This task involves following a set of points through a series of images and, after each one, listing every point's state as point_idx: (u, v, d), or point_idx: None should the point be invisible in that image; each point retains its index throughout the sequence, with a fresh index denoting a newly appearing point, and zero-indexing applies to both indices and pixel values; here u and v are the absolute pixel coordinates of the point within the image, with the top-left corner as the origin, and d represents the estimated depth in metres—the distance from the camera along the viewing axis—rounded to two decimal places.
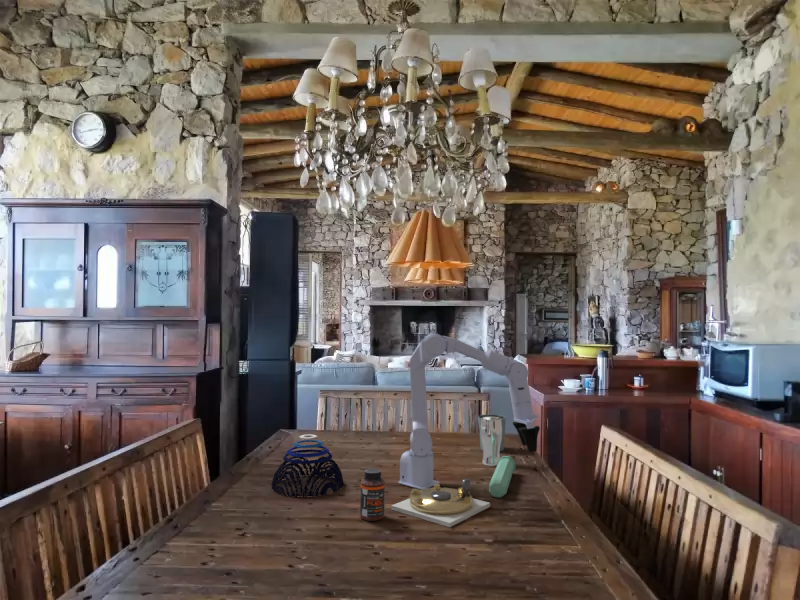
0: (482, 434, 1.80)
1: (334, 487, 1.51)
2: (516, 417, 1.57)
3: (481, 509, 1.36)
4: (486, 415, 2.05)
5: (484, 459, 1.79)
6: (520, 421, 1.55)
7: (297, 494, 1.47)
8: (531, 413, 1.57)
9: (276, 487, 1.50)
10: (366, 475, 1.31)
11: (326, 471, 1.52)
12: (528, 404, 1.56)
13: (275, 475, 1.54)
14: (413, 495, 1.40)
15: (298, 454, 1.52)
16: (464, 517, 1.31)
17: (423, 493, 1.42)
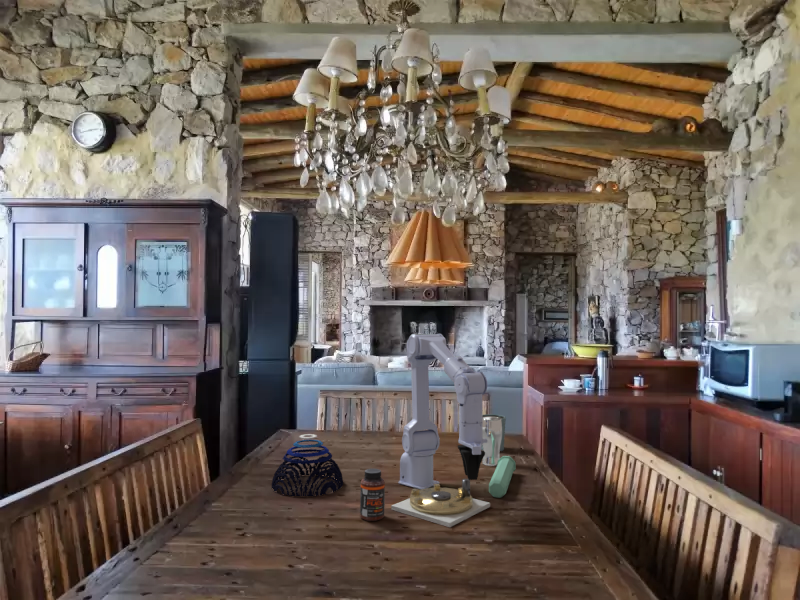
0: None
1: (334, 487, 1.52)
2: (462, 438, 1.32)
3: (481, 509, 1.36)
4: (486, 415, 2.05)
5: (484, 459, 1.79)
6: (465, 444, 1.30)
7: (297, 494, 1.47)
8: (480, 437, 1.32)
9: (276, 487, 1.51)
10: (366, 475, 1.31)
11: (326, 471, 1.52)
12: (478, 425, 1.31)
13: (275, 475, 1.55)
14: (413, 495, 1.40)
15: (298, 454, 1.52)
16: (464, 517, 1.31)
17: (423, 493, 1.42)
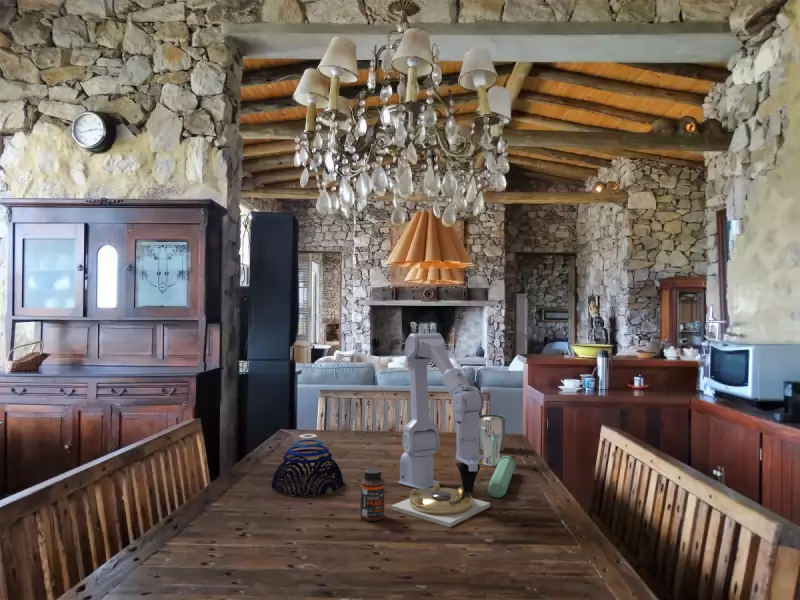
0: (482, 434, 1.80)
1: (334, 486, 1.52)
2: (459, 455, 1.36)
3: (481, 509, 1.36)
4: (486, 415, 2.05)
5: (484, 459, 1.79)
6: (462, 460, 1.34)
7: (297, 493, 1.48)
8: (477, 453, 1.36)
9: (276, 486, 1.51)
10: (366, 475, 1.31)
11: (326, 470, 1.52)
12: (475, 442, 1.35)
13: (275, 474, 1.55)
14: (413, 495, 1.40)
15: (298, 453, 1.53)
16: (464, 517, 1.31)
17: (423, 493, 1.41)
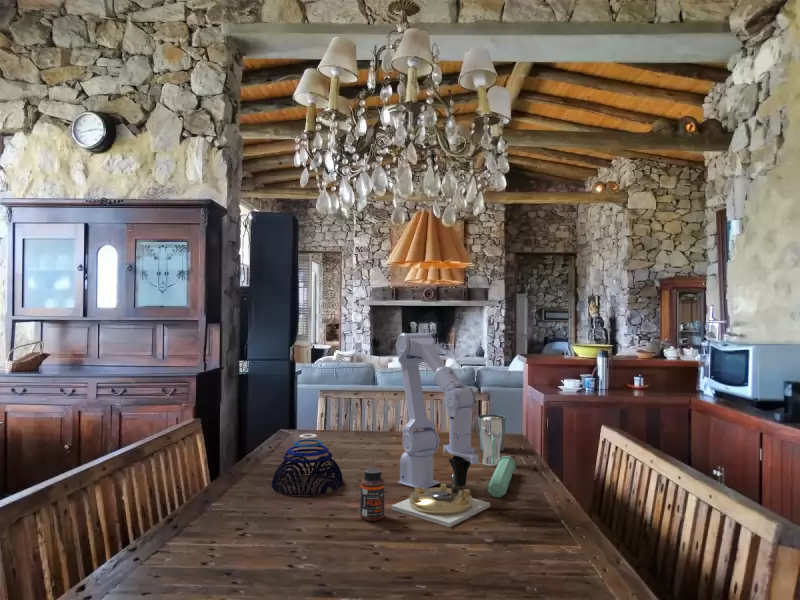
0: (482, 434, 1.80)
1: (334, 486, 1.52)
2: (455, 450, 1.41)
3: (481, 509, 1.36)
4: (486, 415, 2.05)
5: (484, 459, 1.79)
6: (461, 455, 1.39)
7: (297, 493, 1.48)
8: (470, 447, 1.42)
9: (276, 486, 1.51)
10: (366, 475, 1.31)
11: (326, 470, 1.52)
12: (469, 436, 1.41)
13: (275, 474, 1.55)
14: (418, 502, 1.35)
15: (298, 453, 1.53)
16: (464, 517, 1.31)
17: (421, 498, 1.37)
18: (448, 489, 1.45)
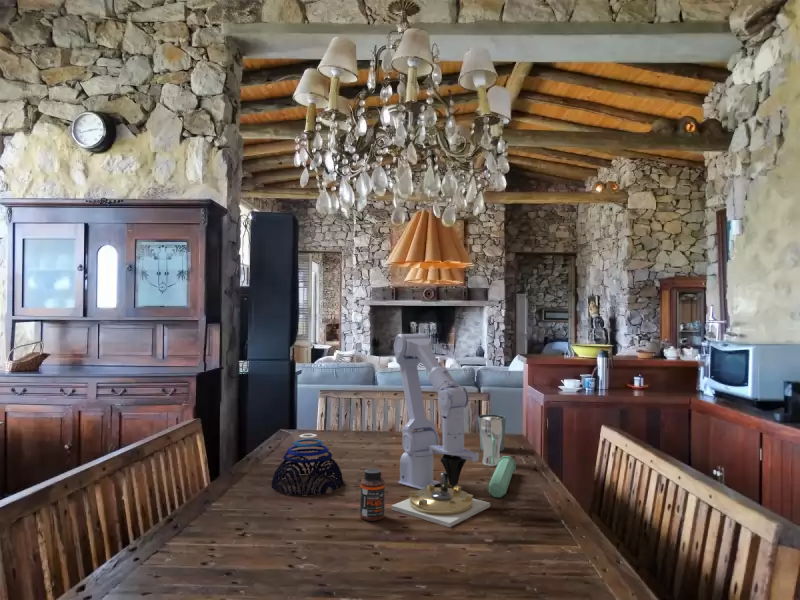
0: (482, 434, 1.80)
1: (334, 486, 1.52)
2: (452, 450, 1.41)
3: (481, 509, 1.36)
4: (486, 415, 2.05)
5: (484, 459, 1.79)
6: (460, 454, 1.40)
7: (297, 493, 1.48)
8: None
9: (276, 486, 1.52)
10: (366, 475, 1.31)
11: (326, 470, 1.53)
12: None
13: (275, 474, 1.55)
14: (429, 506, 1.32)
15: (298, 453, 1.53)
16: (464, 517, 1.31)
17: None
18: (436, 488, 1.45)
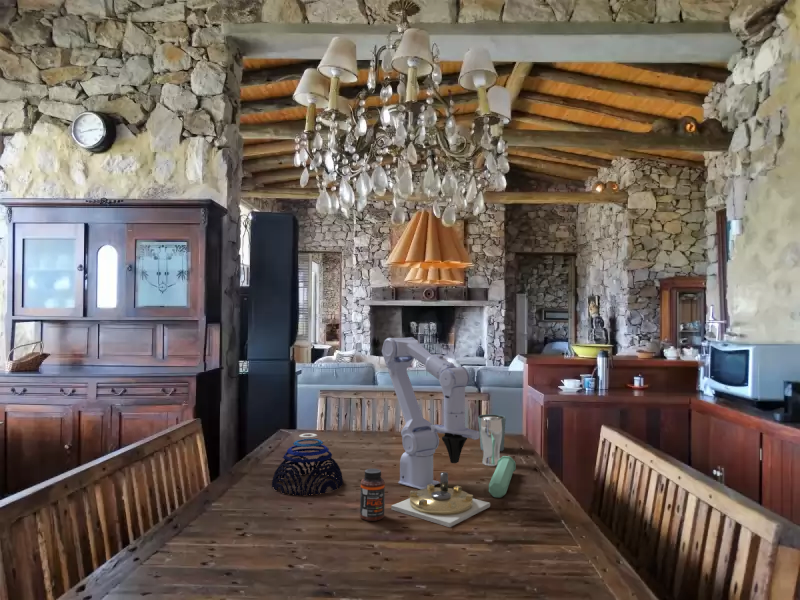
0: (482, 434, 1.80)
1: (334, 485, 1.53)
2: (453, 428, 1.45)
3: (481, 509, 1.36)
4: (486, 415, 2.05)
5: (484, 459, 1.79)
6: (461, 432, 1.43)
7: (297, 492, 1.48)
8: None
9: (276, 485, 1.52)
10: (366, 475, 1.31)
11: (326, 470, 1.53)
12: None
13: (275, 473, 1.56)
14: (429, 506, 1.32)
15: (298, 453, 1.53)
16: (464, 517, 1.31)
17: None
18: (436, 488, 1.45)
